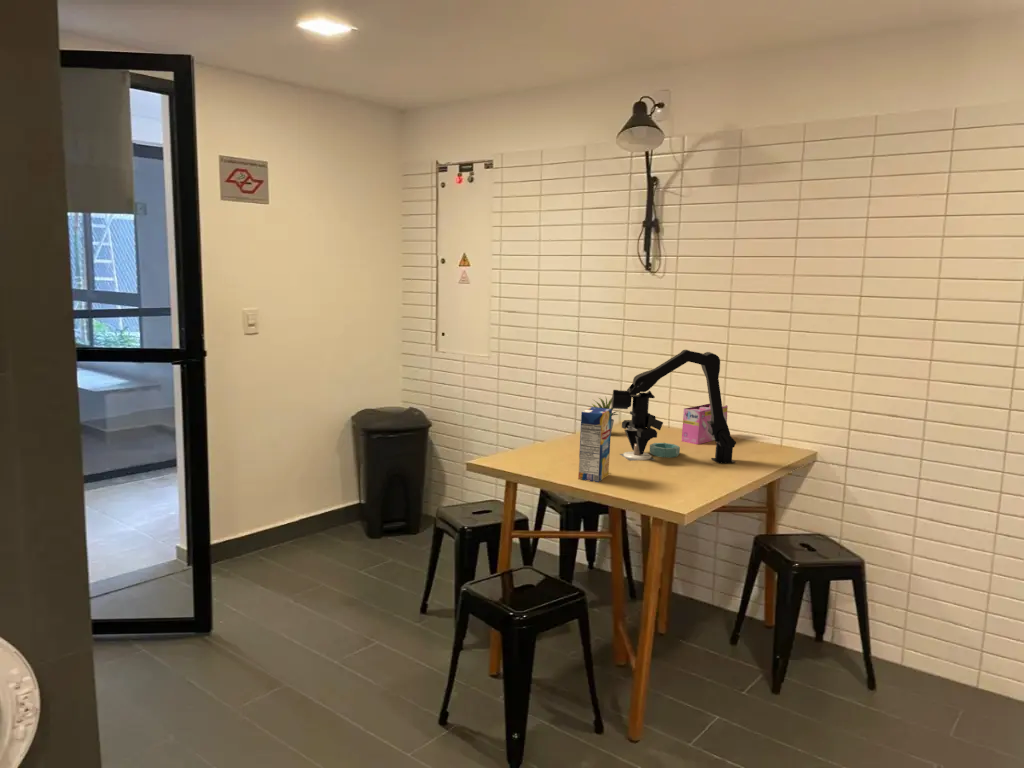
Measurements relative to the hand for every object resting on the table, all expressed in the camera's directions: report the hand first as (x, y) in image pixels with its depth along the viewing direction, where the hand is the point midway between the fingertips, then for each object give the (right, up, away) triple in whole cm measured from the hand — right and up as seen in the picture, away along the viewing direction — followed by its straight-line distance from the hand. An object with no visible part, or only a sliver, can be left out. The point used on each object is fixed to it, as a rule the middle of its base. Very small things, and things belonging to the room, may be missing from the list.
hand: (637, 452), depth 276 cm
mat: (0, -2, 0) cm, 2 cm away
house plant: (-6, +4, +41) cm, 41 cm away
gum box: (+33, +2, +38) cm, 50 cm away
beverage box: (-19, -6, -28) cm, 34 cm away
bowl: (+11, -2, +6) cm, 13 cm away
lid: (0, -2, 0) cm, 2 cm away
